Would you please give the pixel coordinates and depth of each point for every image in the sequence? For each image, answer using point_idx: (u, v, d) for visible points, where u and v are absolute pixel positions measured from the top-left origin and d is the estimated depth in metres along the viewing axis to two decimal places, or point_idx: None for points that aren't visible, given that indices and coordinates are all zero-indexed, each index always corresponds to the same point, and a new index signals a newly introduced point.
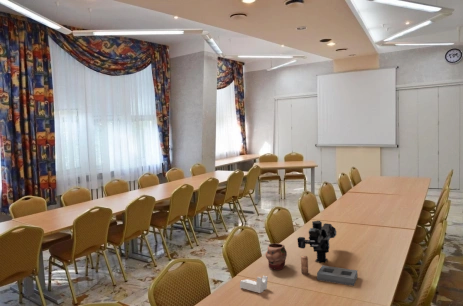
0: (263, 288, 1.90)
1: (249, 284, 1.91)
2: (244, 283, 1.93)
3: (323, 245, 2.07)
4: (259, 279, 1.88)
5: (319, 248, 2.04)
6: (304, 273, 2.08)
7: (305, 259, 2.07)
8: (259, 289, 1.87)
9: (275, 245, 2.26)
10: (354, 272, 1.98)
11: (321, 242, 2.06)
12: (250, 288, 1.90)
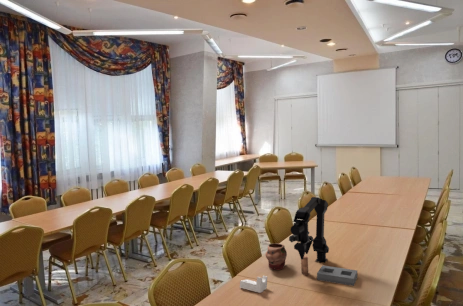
0: (263, 288, 1.90)
1: (249, 284, 1.91)
2: (244, 283, 1.93)
3: None
4: (259, 279, 1.88)
5: (302, 256, 2.04)
6: (304, 273, 2.08)
7: (305, 259, 2.07)
8: (259, 289, 1.87)
9: (275, 245, 2.26)
10: (354, 272, 1.98)
11: None
12: (250, 288, 1.90)
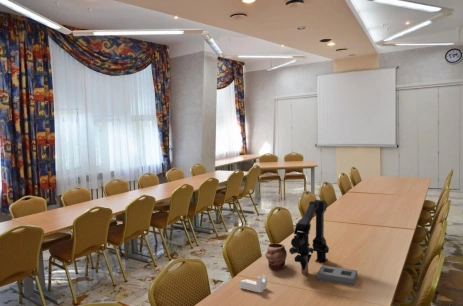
0: (263, 288, 1.90)
1: (249, 284, 1.91)
2: (244, 283, 1.93)
3: None
4: (259, 279, 1.88)
5: (303, 266, 2.06)
6: (304, 273, 2.08)
7: None
8: (259, 289, 1.87)
9: (275, 245, 2.26)
10: (354, 272, 1.98)
11: None
12: (250, 288, 1.90)
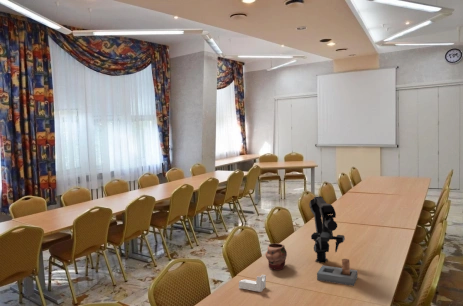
0: (262, 287, 1.91)
1: (248, 284, 1.91)
2: (243, 283, 1.93)
3: None
4: (259, 278, 1.89)
5: (337, 248, 2.08)
6: None
7: None
8: (259, 288, 1.88)
9: (275, 245, 2.26)
10: (354, 272, 1.98)
11: (337, 244, 2.06)
12: (250, 288, 1.91)
